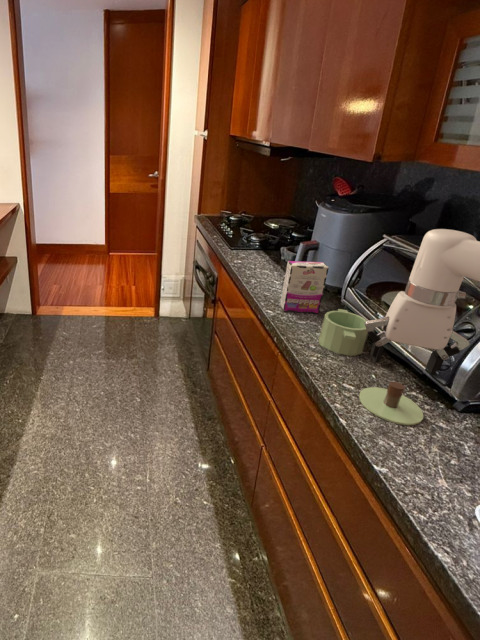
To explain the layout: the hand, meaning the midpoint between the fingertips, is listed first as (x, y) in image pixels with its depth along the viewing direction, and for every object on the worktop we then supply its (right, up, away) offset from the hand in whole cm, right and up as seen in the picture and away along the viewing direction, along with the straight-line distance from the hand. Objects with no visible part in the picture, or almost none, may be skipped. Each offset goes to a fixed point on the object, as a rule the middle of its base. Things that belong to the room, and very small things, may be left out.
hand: (402, 365), depth 82 cm
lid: (0, -10, +4) cm, 11 cm away
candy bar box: (+3, +7, +48) cm, 48 cm away
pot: (+4, -1, +27) cm, 27 cm away
